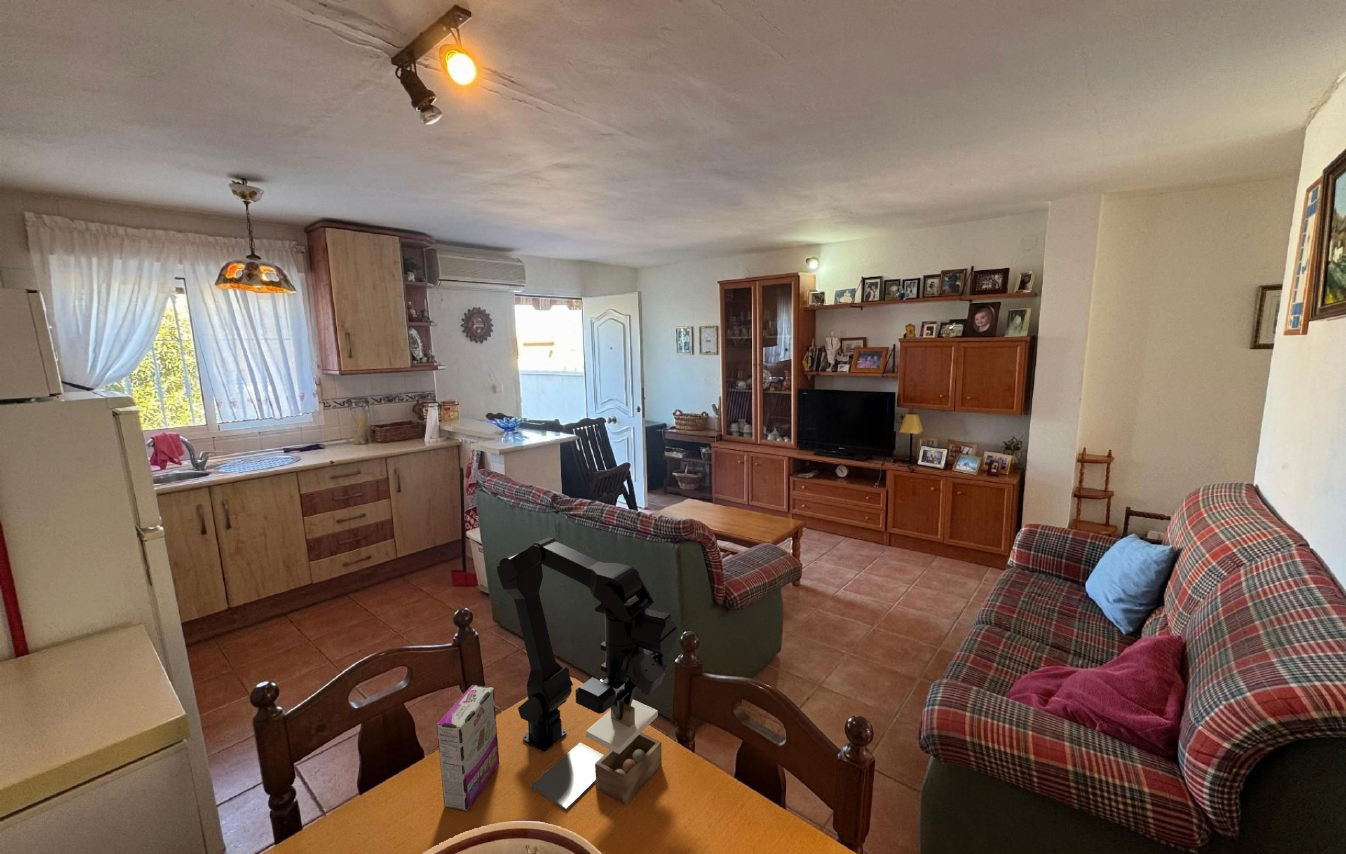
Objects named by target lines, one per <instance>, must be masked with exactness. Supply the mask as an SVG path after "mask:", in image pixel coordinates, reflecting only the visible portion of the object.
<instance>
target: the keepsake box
mask: <svg viewBox="0 0 1346 854" xmlns="http://www.w3.org/2000/svg"><path fill="white" fill-rule="evenodd" d="M603 755H604V756H603V757H601V758H600V759H599V760H598V761H597V762H596V763H595V777H596V782H595V789H596V790H598V791H600V792H602V793H603V794H605V795H607V796H609V797H610V798H612V799H613V800H615V801H617V802H619V803H620V804H622V805H624V806H627V805H628V804H629V803H631V801H632V800H633V798H634V797H635V796H637V794H638V793H639V792H640V791H641V790H642V789H643V787H644V786H645V785H646V784H647V783H648V782H649V781H650V779H651V778H653V776H654V775H655V774H656V772H657V771H659V769H660V768H661V767H662V765H663V763H662V760H663V759H662V741H660V740H658V739H656V738H653V737H652V736H649V735H648V734H645V733H644V732H641V733H640V734H639V735H638V736H637V737H636V738H635V739H634V740H633V741H632V742H631V743H630V744H629V745H628V746H627V747H626V748H625V749H624V750H623V751H622V752H621V753H620V754H617V753H616V752H614V751H612V750H610V749H608V750H607V752H606V753H604V754H603Z"/></svg>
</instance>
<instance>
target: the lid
mask: <svg viewBox="0 0 1346 854" xmlns="http://www.w3.org/2000/svg"><path fill="white" fill-rule="evenodd" d="M658 712H659V711H658V710H657V709H655V708H653V707H651V706H649V705H646V704H644V703H642V702H640V701H638V700H636V699H633V700H632V704H631V706H630V705H628V704H626V703H624V705H623V716H622V720H618V719H616V717H615V715H614V713H613V712H612V710H611V709H609V711H606V713H605V714H603V716H601V717H600V718H599V719H598V720H597V721H595V723H593V724H592V725H591V726H590V727H589V728H588V729H587V730H585V737H586V738H587V739H589V740H591V741H593V742H595V743H596V744H599V745H601V746H603V747H604V748H606V749H608V750H612V751H614V752H616V753H617V754H620V753H621V752H622V751H623V750H624V749H625V748H626V747H627V746H628V745H629V744H630V743H631V742H632V741H633V740H634V739H635V738H636V737H637V736H638V735H639V734H640V733H643V732H644V730H645V729H646V728H648V726H650V724H652V723H653V721H655V720H656V719H657V718H658V714H659V713H658Z"/></svg>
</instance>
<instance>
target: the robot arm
mask: <svg viewBox="0 0 1346 854" xmlns="http://www.w3.org/2000/svg"><path fill="white" fill-rule="evenodd" d="M543 566H545V567H547V568H550V569H552V570H554V571H555V572H557V573H559V574H561V575H563V576H565V577H567V578H570V579H572V580H573V581H575V582H577V583H579V584H582V585H583V586H586V587H587V588H588V589H589V590H590V593H591V595H592V597H593V598H594V599H595V600H597V601H598V602H600V604H598V605H597V606H596V607H594V611H595V612H596V613H599V614H602V615H604V633H605V634H604V637H605V639H604V641H602V643H600V645H599V646H600V650H601V651H603V652H605V661H604V662H603V663H602V664H601V665H600V671H602V672H604V673H606V675H605V676H604V677H602V678H601V679H597V678H595V677H593V676H592V677H590V678H589V679H588V680H586V681H585V682H584V683H583V684H582V685H580V686H579V687H578V688H576V689H575V703H576V704H578V705H579V706H581V707H584V708H586V709H588V710H589V711H592V712H593V713H596V714H597V715H600V714H604V713H605V712H607V710H612V712H613V713H614V715H615V717H616V719H618V720H622V716H623V705H624V703H626V704H628V705H630V706H631V704H632V700H634V697H635V694H636V691H637V688H638V689H639V690H640V692H641V693H643V694H644V695H647V696H648V695H650V694H652V693H653V692H654V691H655V690H656V689H657V688H658V687H660V685H662V682H663V679H664V677H665V675H667V674H668V672H670V671H669V666H668V665H669V655H670V654H671V653H672V651H673V650H674V648H675V647H676V643H677V641H678V640H677V639H678V634H679V633H678V632H679V628H678V627H677V623H676V622H675V621H673V620H672V614H670V613H667V612H660V611H657V610H654V609H650V608H651V607H652V606H653V605H655V601H654V599H653V597H652V596H651V594H650V591H648V589H647V587H646V586H645V584H644V582H643V580H642V578H641V577H640V574H639V571H638V570H637V569H636V568H635V567H633V566H630V565H626V564H622V563H618V562H603V561H599V560H597V559H594V558H593V557H591V556H588V555H586V554H584V553H582V552H579V551H578V550H575V549H573V548H572V547H571V548H570V547H569V546H567V545H565V544H563V543H561V542H558V540H557V539H556V538H554V537H546V538H544V539H543V538H542V539H540V540H538V541H536V542H534V543H532V544H531V545H530V546H529V547H528V548H525V549H522V550H519V551H518V552H515V553H513V554H510V555H508V556H506V557H504V558H502V559H501V560H500V561H499V563H498V565H497V566H496V570H497V576H498V580H499V581H500V584H501V587H502V589H503V591H504V592H505V593H506V594H507V595H509V596H510V597H511V599H513V601H514V603H515V604H514V605H515V608H516V609H515V610H516V612H517V617H518V621H519V625H520V629H521V634H522V638H523V642H524V646H525V650H526V654H527V659H528V663H529V666H530V667H529V668H530V670H529V671H530V672H529V675H528V679H527V683H526V693H527V699H526V700H525V701H524V702H523V703H522V704H520V705H519V706H518V707H517V710H518V714H519V718H520V719H522V720H524V721H526V722H527V726H528V733H526V734H525V735H524V736H523V737H522V741H523V742H525V743H527V744H528V745H530V746H532V747H534V748H535V749H537V750H539V751H540V752H542V753H546V752H548V750H549V749H550V748H551V747H553V746H554V745H556V744H557V743H558V742H559V741H560V740H561V739H563V738H564V737H565V736H566V735H567V730H565V729H564V728H562V726H563V725H562V719H561V710H560V709H559V708H560V707H561V706H562V705H563V704H566V702H567V700H568V699H569V698H570V696H571V694H572V692H573V689H572V688H573V686H574V683H573V682H572V680H571V676H570V674H571V673H570V669H569V668H568V666H562V665H561V664H560V663H559V662H558V660H556V658H555V653H554V648H553V645H552V641H551V637H550V631H549V627H548V624H547V621H546V616H545V611H544V608H543V603H542V599H541V594H540V589H541V585H542V581H543V578H544V573H543V572H544V571H543ZM635 598H637V600H636V601H635V602H633V603H632V604H631V605H630V604H627V603H629V602H630V601H631V600H633V599H635Z"/></svg>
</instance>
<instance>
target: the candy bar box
mask: <svg viewBox="0 0 1346 854" xmlns="http://www.w3.org/2000/svg"><path fill="white" fill-rule="evenodd" d="M495 699H496V698H495V688H494V687H490V686H482V685H478V684H472V685H470V686H469V688H468V689H466V691H465V692H464V693H463V694H462V696H461V697H460V698H459V699H458V700H457V701H456V702H455V703H454V704H453V706H452V707H450V708H449V710H448V711H446V713H445V714H444V716H442V717H441V719H440V720H439V721H438V722H437V723H436V731H437V743H438V753H439V760H440V761H439V762H440V763H439V764H440V773H441V785H442V795H443V796H442V797H443V805H444V807H446V808H449V809H456V810H461V811H466V812H468V811H469V810H470V808H471V807H472V805H473V804H474V802H475V801H476V799H477V798H478V797H479V795H480V793H481V791H482V790H483V788H484V787H486V784H487V783H488V781H489V780H490V779H491V777H492V775H493V774H494V772H495V771H496V769H497V768H499V767H498V766H499V765H500V756H499V742H498V741H499V740H498V729H497V728H498V727H497V714H496V703H495V702H496V701H495Z"/></svg>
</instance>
